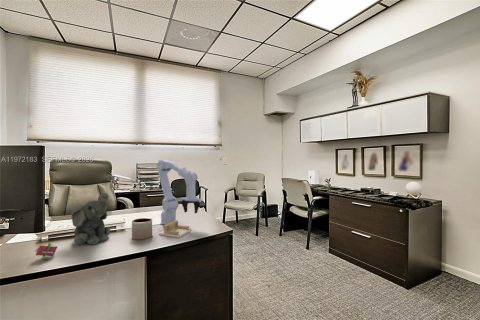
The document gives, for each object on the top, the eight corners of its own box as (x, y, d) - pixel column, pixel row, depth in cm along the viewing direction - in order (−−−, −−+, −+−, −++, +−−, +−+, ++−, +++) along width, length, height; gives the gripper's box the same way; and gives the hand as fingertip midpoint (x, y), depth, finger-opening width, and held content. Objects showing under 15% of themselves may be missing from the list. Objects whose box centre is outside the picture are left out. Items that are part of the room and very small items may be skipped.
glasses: (189, 228, 143) (188, 221, 143) (177, 234, 132) (177, 226, 132) (175, 227, 146) (175, 220, 146) (163, 233, 135) (163, 225, 135)
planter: (127, 238, 130) (127, 221, 130) (143, 232, 140) (143, 216, 140) (140, 241, 125) (140, 223, 125) (156, 235, 135) (156, 219, 135)
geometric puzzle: (59, 247, 110) (46, 237, 107) (63, 251, 106) (49, 240, 102) (44, 260, 106) (29, 250, 102) (47, 265, 102) (32, 254, 98)
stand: (190, 231, 143) (190, 226, 143) (179, 237, 131) (179, 232, 131) (171, 228, 147) (171, 224, 147) (159, 234, 136) (159, 230, 136)
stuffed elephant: (107, 245, 119) (107, 193, 119) (61, 248, 116) (61, 194, 115) (119, 233, 138) (119, 188, 138) (80, 235, 134) (80, 188, 134)
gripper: (177, 191, 148) (177, 212, 148) (197, 193, 143) (197, 214, 143) (184, 190, 155) (183, 210, 155) (203, 191, 150) (203, 212, 150)
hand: (190, 212), depth 149 cm, fingers open, 7 cm apart
